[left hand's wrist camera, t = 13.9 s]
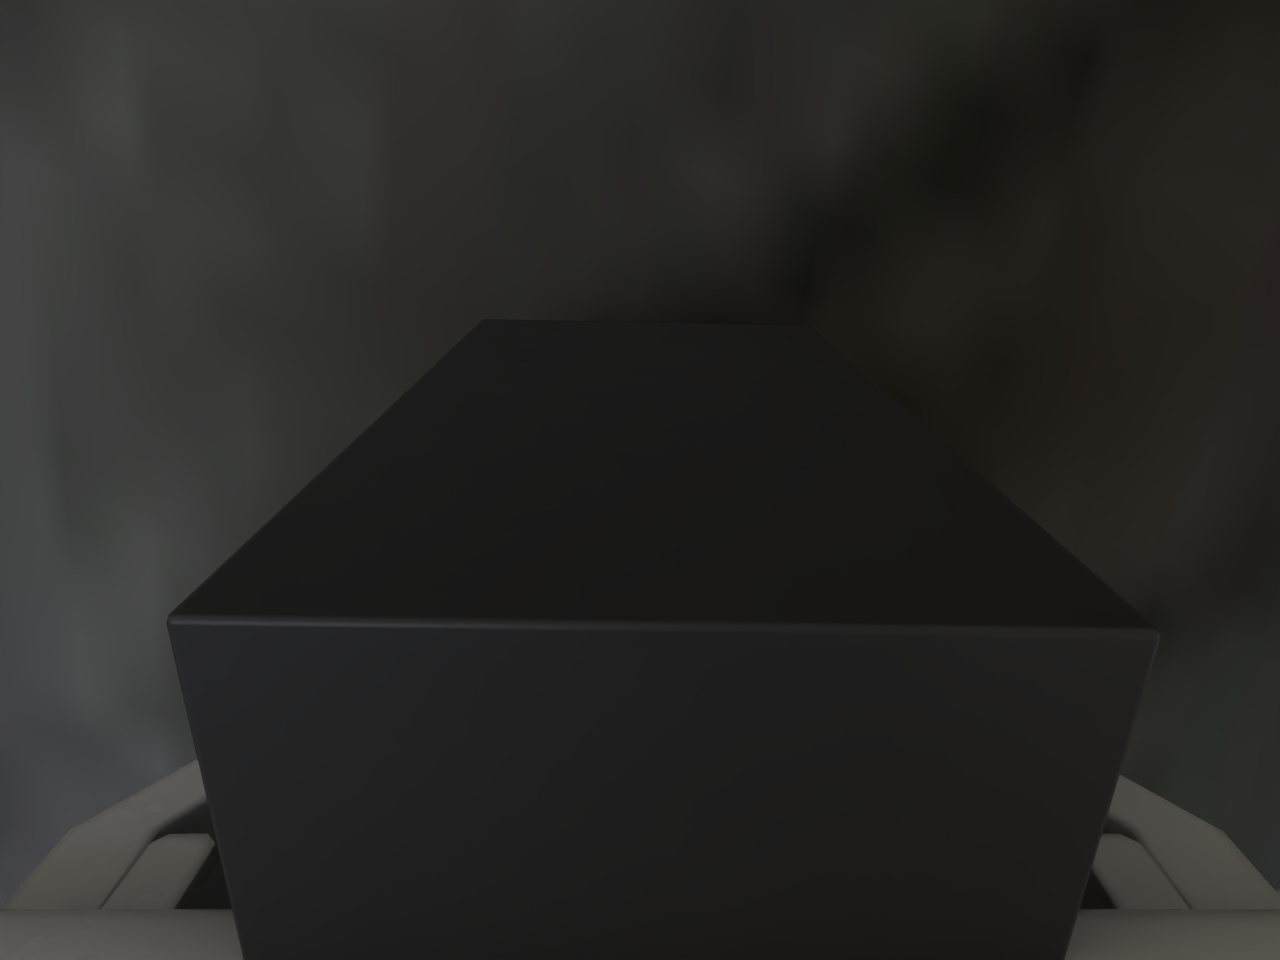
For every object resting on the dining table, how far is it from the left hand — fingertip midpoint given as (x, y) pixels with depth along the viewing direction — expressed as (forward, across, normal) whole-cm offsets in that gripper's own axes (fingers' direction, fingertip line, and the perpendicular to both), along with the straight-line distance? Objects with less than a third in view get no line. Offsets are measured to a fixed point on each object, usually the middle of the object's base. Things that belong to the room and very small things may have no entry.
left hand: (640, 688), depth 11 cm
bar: (+4, 0, +8) cm, 9 cm away
